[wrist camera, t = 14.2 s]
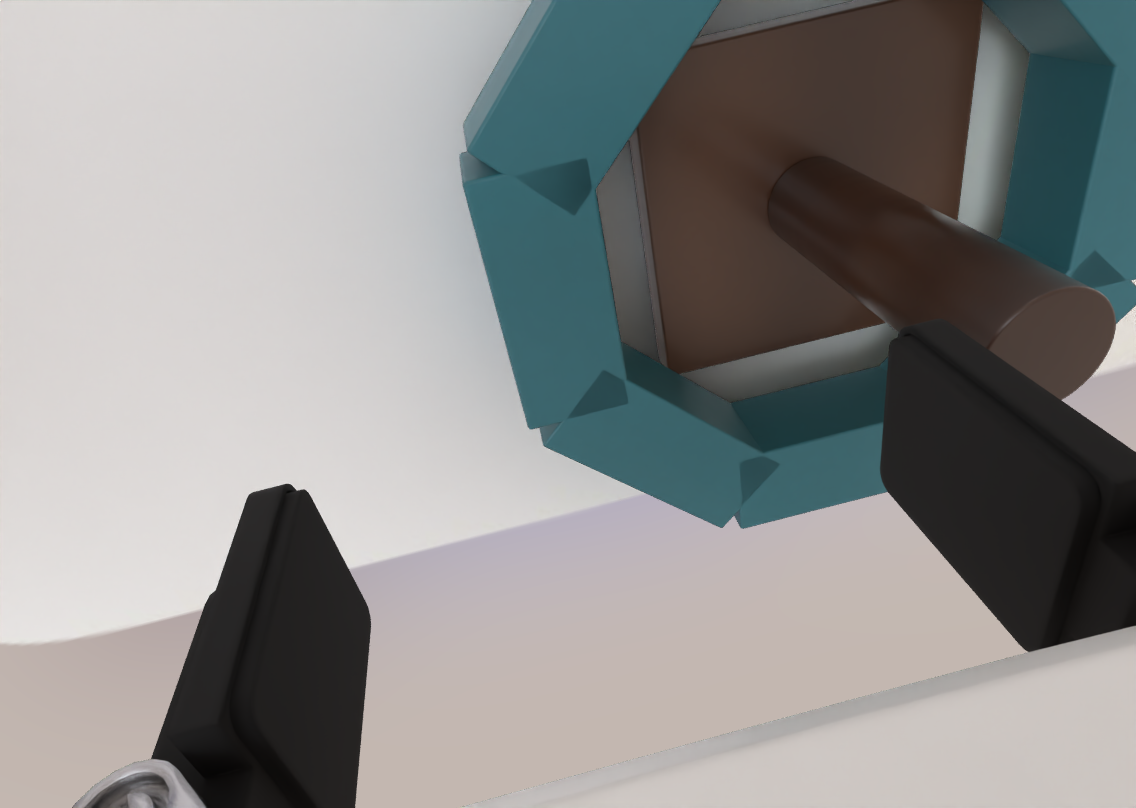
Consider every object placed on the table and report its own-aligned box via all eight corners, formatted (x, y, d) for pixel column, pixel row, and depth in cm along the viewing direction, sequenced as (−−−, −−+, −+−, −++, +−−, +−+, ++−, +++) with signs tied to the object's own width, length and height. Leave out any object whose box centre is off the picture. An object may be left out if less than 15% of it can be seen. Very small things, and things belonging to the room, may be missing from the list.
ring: (554, 514, 24) (567, 574, 21) (384, -124, 14) (374, -141, 12) (1048, 389, 24) (1113, 435, 22) (1207, -306, 15) (1353, -357, 12)
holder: (658, 359, 23) (792, 600, 14) (616, 55, 18) (784, 142, 9) (925, 293, 23) (1216, 490, 14) (957, -25, 18) (1429, -12, 9)
